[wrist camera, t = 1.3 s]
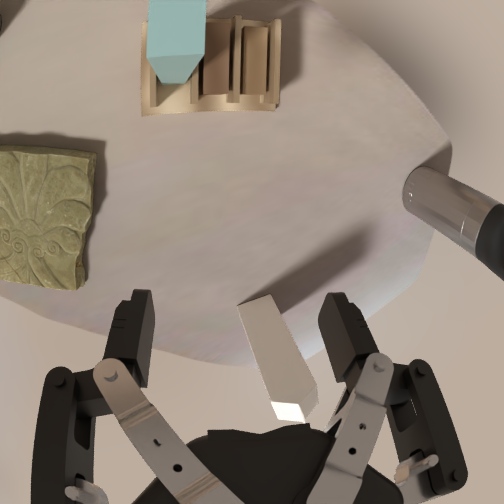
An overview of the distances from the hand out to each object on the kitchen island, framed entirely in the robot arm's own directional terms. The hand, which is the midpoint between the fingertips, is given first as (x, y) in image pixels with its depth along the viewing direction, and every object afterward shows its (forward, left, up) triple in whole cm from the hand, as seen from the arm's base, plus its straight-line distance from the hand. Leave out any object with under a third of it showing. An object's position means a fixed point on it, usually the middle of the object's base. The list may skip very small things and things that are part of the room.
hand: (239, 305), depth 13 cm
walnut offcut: (-2, -13, -25) cm, 29 cm away
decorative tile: (+23, +4, -27) cm, 36 cm away
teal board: (+2, -13, -25) cm, 29 cm away
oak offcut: (-6, -13, -25) cm, 29 cm away
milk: (-9, +25, -27) cm, 37 cm away
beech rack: (-2, -13, -26) cm, 29 cm away
